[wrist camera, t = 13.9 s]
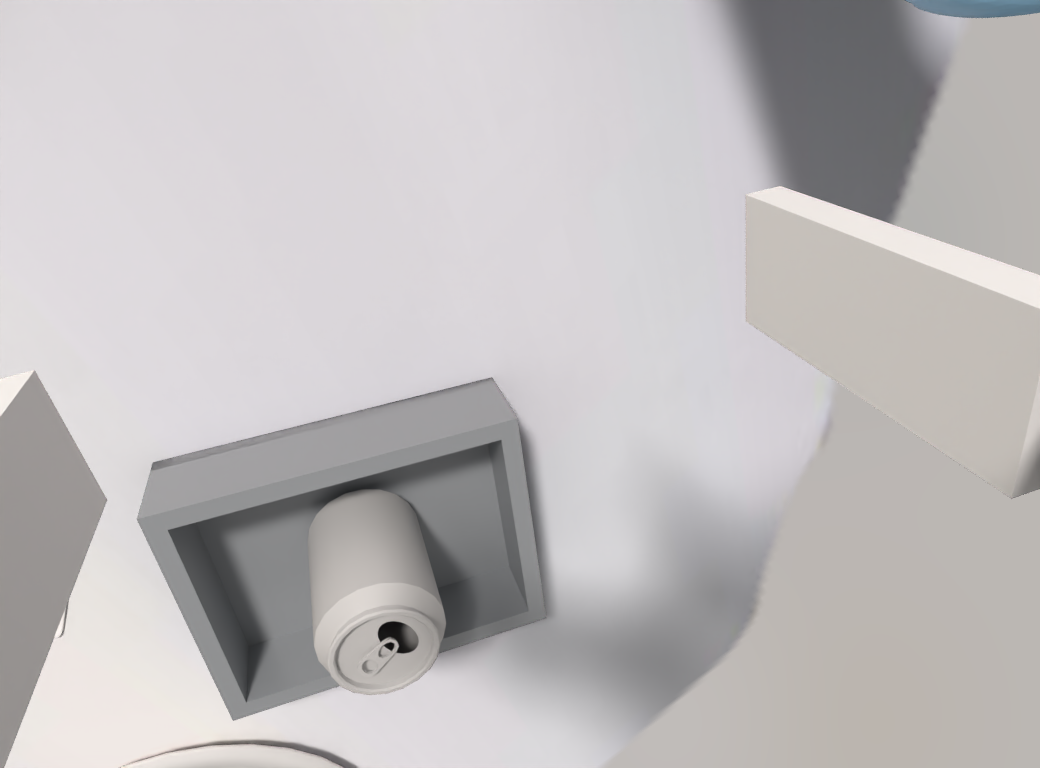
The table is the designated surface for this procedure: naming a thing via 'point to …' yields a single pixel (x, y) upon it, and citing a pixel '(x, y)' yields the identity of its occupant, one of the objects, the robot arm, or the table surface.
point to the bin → (304, 492)
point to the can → (373, 593)
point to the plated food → (235, 758)
